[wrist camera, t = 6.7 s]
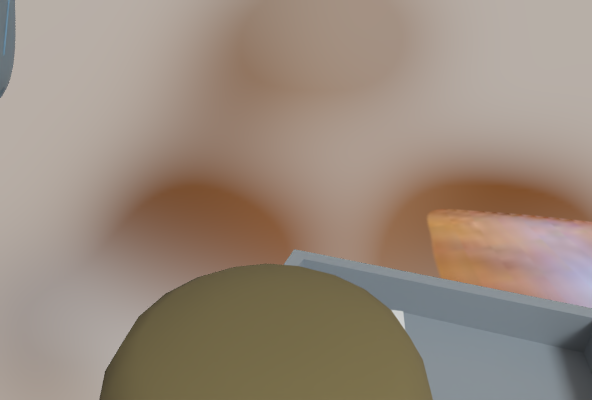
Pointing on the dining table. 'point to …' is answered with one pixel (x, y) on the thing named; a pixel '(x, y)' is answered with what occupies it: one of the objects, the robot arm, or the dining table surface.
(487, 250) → the dining table surface
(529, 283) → the dining table surface
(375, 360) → the cork
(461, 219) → the dining table surface
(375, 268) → the trough
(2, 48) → the robot arm
